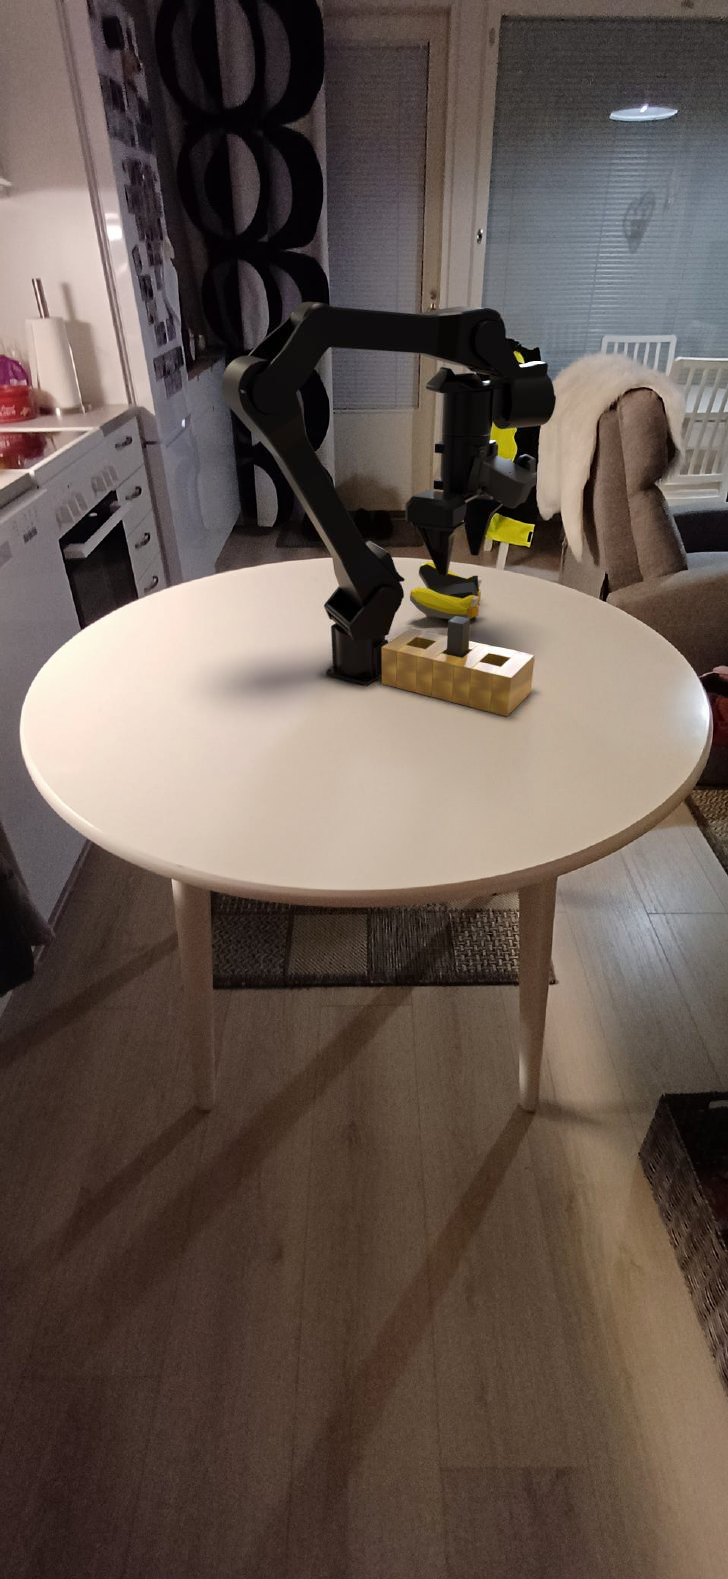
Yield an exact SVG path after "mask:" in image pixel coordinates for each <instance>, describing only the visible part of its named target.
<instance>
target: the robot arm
mask: <svg viewBox="0 0 728 1579" xmlns="http://www.w3.org/2000/svg"><path fill="white" fill-rule="evenodd" d="M501 315H502V314H501V313H500V312H499V311H498V310H496V309H493V308H490V307H475V306H454V307H445V308H439V309H432V310H428V311H424V312H418V313H408V312H398V311H397V312H396V311H387V310H386V311H385V310H375V309H364V308H351V307H342V306H341V307H340V306H332V305H330V304H327V303H325V302H318V301H317V302H316V301H305V302H301V303H299V304H298V305H296V307H295V308H294V309H293V311H292V312H291V313H290V314H289V316H288V317H287V318H285V320H284V321H283V322H282V323H280V325H278V327H276V328H275V329H274V330H273V331H272V332H270V333H269V334H268V335H266V336H265V337H264V338H263V339H262V340H261V341H260V342H259V343H258V344H257V345H256V346H255V347H254V348H253V349H252V350H251V352H249V354H248V355H240V356H239V357H236V358H234V359H233V360H231V362H230V363H229V364H228V365H227V367H226V368H225V371H224V373H223V376H222V384H221V392H222V396H223V398H224V400H225V403H226V404H227V405H228V408H230V409H231V410H232V412H233V413H234V414H235V416H237V418H238V419H239V420H240V421H241V422H242V423H243V424H244V426H245V427H246V428H247V429H248V430H249V431H250V433H252V434H253V435H254V437H256V439H257V440H258V441H259V442H260V443H261V444H262V445H263V446H264V447H265V448H266V449H267V450H268V451H269V453H270V454H271V455H272V457H273V459H274V460H275V462H276V463H277V465H278V467H279V469H280V470H281V472H282V474H283V475H284V477H285V479H286V481H287V483H288V485H289V486H290V487H291V489H292V491H293V493H294V494H295V496H296V497H297V499H298V501H299V503H300V504H301V506H302V508H303V510H304V511H305V513H306V515H307V516H308V518H309V519H310V521H311V522H312V524H313V526H314V528H315V530H316V531H317V533H318V535H319V536H320V538H321V540H322V541H323V543H324V545H325V547H326V548H327V550H328V551H329V554H330V556H331V560H332V565H333V566H332V567H333V573H334V576H335V578H336V581H337V584H338V587H337V588H336V589H335V590H334V591H333V592H332V594H331V595H330V596H329V598H328V599H327V600H326V602H324V605H323V607H324V610H325V613H326V615H327V617H328V619H329V620H330V621H333V622H334V624H331V625H330V636H331V659H332V666H329V668H327V669H326V670H325V675H326V676H330V677H333V678H338V679H341V680H345V681H348V682H352V683H356V684H360V685H364V686H367V685H369V684H371V683H373V682H374V681H375V680H376V679H378V678H379V677H381V676H382V647H383V646H384V645H386V644H387V643H389V640H388V639H386V636H388V635H389V634H390V631H391V628H392V625H393V622H394V619H395V616H396V613H397V612H398V610H399V609H400V607H401V605H402V602H403V599H404V598H405V591H404V587H403V585H402V583H401V582H405V579H406V578H404V577H403V576H402V575H400V573H399V572H398V570H397V568H396V564H395V562H394V559H393V557H392V554H391V553H390V552H389V551H387V550H385V549H383V548H382V547H381V546H379V545H377V544H376V543H374V542H373V541H371V540H370V539H369V540H368V541H366V542H365V540H364V539H363V536H362V535H361V533H360V531H359V529H358V527H357V525H356V524H355V522H354V520H353V518H352V516H351V515H350V513H349V510H348V509H347V508H346V505H345V504H344V502H343V500H342V498H341V497H340V495H339V493H338V491H337V489H336V487H335V486H334V484H333V482H332V480H331V478H330V476H329V475H328V472H327V471H326V469H325V467H324V465H323V463H322V462H321V460H320V458H319V457H318V455H317V454H318V453H316V450H315V449H314V447H313V445H312V443H311V442H310V439H309V437H308V434H307V430H306V429H307V428H306V424H305V418H304V417H305V416H304V412H303V408H302V405H301V402H300V399H299V396H298V394H297V392H298V391H299V390H300V389H301V388H302V387H303V386H304V385H305V383H306V382H307V381H308V380H309V379H310V377H311V375H312V373H313V372H314V370H315V368H316V367H317V364H318V363H319V362H320V360H321V358H322V356H323V355H324V354H325V353H326V352H327V351H328V350H329V349H330V348H336V349H348V350H362V351H363V350H365V351H380V352H381V351H382V352H394V353H410V354H411V353H412V354H418V355H421V356H424V357H427V358H429V359H432V360H435V361H438V362H443V363H446V364H448V365H453V366H459V367H465V368H466V369H467V370H468V371H469V372H466V373H465V372H464V373H455V372H454V371H453V369H452V368H450V367H445V366H441V367H439V369H438V371H437V372H436V374H435V375H434V376H433V377H432V378H430V379H429V381H428V382H427V383H426V384H425V390H427V391H430V392H434V393H438V394H442V420H441V441H438V442H435V443H434V454H440V471H439V472H440V474H439V477H438V478H435V479H433V490H432V489H431V490H429V489H425V490H423V491H421V492H419V493H417V494H414V495H412V496H411V497H410V498H409V499H408V500H407V501H406V502H405V521H406V522H410V523H411V526H412V527H415V528H416V531H417V532H418V534H419V535H420V538H421V540H422V541H423V543H424V546H425V548H426V550H427V552H428V553H429V556H430V559H431V560H432V561H431V562H433V563H434V565H435V568H436V570H437V572H438V574H439V575H442V576H446V575H447V574H448V570H449V569H450V564H451V559H452V552H453V546H454V540H455V535H456V534H457V533H458V532H459V531H460V530H461V529H462V528H463V527H464V531H465V536H466V541H467V545H468V550H469V553H470V555H471V556H476V557H477V556H479V555H480V554H481V550H482V547H483V545H484V542H485V539H486V536H487V533H488V530H489V527H490V525H491V522H492V519H493V517H494V514H495V513H496V512H497V510H499V509H500V508H501V507H502V506H504V507H506V508H510V509H515V508H517V507H518V506H520V505H521V504H524V503H526V501H527V499H528V496H529V494H530V493H531V490H532V488H533V487H535V486H536V485H537V484H538V480H537V477H538V475H539V473H538V472H536V470H537V468H536V466H537V465H536V458H535V457H533V456H531V455H529V454H527V453H524V454H523V455H520V456H518V458H516V459H515V460H514V461H512V460H513V459H512V458H507V459H505V458H503V457H502V456H499V444H498V443H497V440H492V439H491V436H492V435H491V434H492V423H493V424H494V426H495V428H497V429H499V430H508V429H518V428H528V427H537V426H544V425H546V424H547V423H548V422H549V421H550V420H551V419H552V416H553V414H554V411H555V408H556V402H557V401H556V400H557V395H556V394H555V387H554V384H553V381H552V379H551V377H550V375H549V374H548V370H549V364H548V363H547V362H544V361H529V362H527V363H524V364H520V363H519V361H518V358H517V356H516V355H515V352H514V350H513V347H512V346H511V345H510V344H511V343H510V342H509V340H508V338H507V337H506V336H507V330H506V324H505V322H504V320H503V317H502V316H501ZM478 374H482V375H487V376H489V380H482V379H481V377H480V376H479V375H478ZM437 490H438V491H437ZM449 571H450V570H449Z"/></svg>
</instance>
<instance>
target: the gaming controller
mask: <svg viewBox="0 0 728 1579" xmlns="http://www.w3.org/2000/svg"><path fill="white" fill-rule="evenodd" d="M418 576H419V578H420V579H421V580H422V582H423V584H424V585H425V587H421V586H418V587H415V588H413V589H410V593H409V600H410V602H411V603H412V604H413V606H415V607H416V609H417V610H419V611H420V612H421V613H422V614H424V615H425V616H426V617H429V618H437V619H443V620H444V619H447V620H448V621H449V620H451V619H452V618H453V617H455V616H458V617H463V618H468V619H470V620H471V619H473V618H474V617H478V616H479V607H480V605H479V604H478V603H480V602H481V596H482V592H481V589H480V586H481V584H482V581H483V576H479V575H471V576H468V577H462V576H460V575H459V574H457V573H455V572H453V571H451V570H448V574H447V575H446V576H442V575H439V574H438V572H437V570H436V568H435V565H434V563H433V561H426V562H424V563H422V564H420V566H419V569H418Z"/></svg>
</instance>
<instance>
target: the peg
mask: <svg viewBox="0 0 728 1579" xmlns="http://www.w3.org/2000/svg"><path fill="white" fill-rule="evenodd" d="M470 628H471V619H468V618H463V617H458V616H455V617H453V618H452V619H451V620H448V621H447V635H446V636H447V655H452V656H456V657H460V658H463V657H464V656H465V655H467V654H468V647H469V641H470V632H471V631H470Z"/></svg>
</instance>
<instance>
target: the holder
mask: <svg viewBox="0 0 728 1579" xmlns="http://www.w3.org/2000/svg"><path fill="white" fill-rule="evenodd" d="M535 657H536V656H535V654H531V653H526V652H523V651H517V650H514V649H509V648H504V647H499V646H495V645H490V644H485V643H480V642H476V641H471V640H469V647H468V654H467V655H465V656H464V657H463V658H460V657H456V656H452V655H447V635H444V634H440V633H435V632H430V631H426V630H421V629H416V628H412V627H409V628H408V629H406V630H404V631H403V632H402V633H401V634H399V635H398V636H396V637H395V638H393V639H391V640H390V641H388V643H387V644H386V645H384V646H383V647H382V675H381V684H382V685H385V686H390V687H393V688H397V689H400V690H404V691H408V692H413V693H416V694H420V695H424V696H427V697H432V698H435V699H439V700H443V701H446V702H450V703H455V704H458V705H462V706H467V707H470V708H474V709H477V710H481V711H485V712H488V713H492V714H497V715H499V716H504V717H508V716H510V714H511V713H512V712H513V711H515V709H516V708H517V707H518V706H519V705H520V704H521V703H522V702H523V701H524V700H525V699H526V698H527V697H528V696H529V695H530V694H531V692H532V685H533V675H534V664H535Z"/></svg>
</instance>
